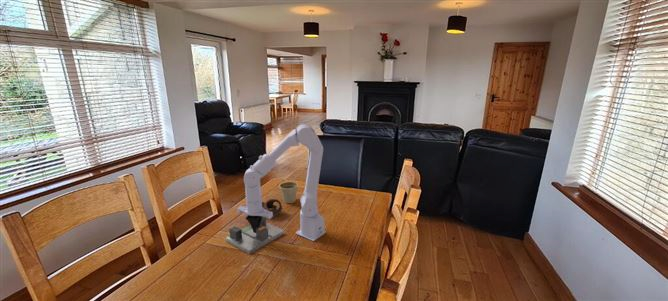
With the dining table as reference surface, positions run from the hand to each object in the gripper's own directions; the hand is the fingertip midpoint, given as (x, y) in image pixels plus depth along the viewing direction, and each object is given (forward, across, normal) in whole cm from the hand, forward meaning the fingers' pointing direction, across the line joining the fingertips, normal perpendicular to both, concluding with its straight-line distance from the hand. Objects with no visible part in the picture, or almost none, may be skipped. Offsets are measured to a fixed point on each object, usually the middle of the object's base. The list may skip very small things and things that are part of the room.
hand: (256, 231), depth 111 cm
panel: (+3, 0, 0) cm, 3 cm away
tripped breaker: (+1, -3, +1) cm, 4 cm away
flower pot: (+3, +4, -34) cm, 35 cm away
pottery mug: (+3, +6, -19) cm, 20 cm away
